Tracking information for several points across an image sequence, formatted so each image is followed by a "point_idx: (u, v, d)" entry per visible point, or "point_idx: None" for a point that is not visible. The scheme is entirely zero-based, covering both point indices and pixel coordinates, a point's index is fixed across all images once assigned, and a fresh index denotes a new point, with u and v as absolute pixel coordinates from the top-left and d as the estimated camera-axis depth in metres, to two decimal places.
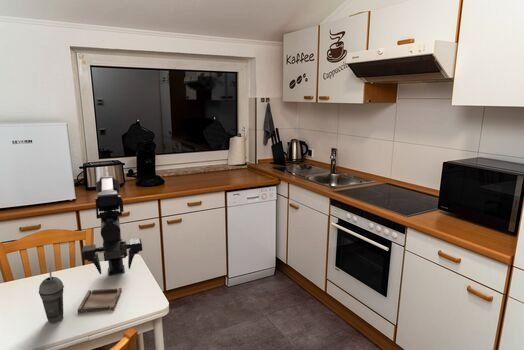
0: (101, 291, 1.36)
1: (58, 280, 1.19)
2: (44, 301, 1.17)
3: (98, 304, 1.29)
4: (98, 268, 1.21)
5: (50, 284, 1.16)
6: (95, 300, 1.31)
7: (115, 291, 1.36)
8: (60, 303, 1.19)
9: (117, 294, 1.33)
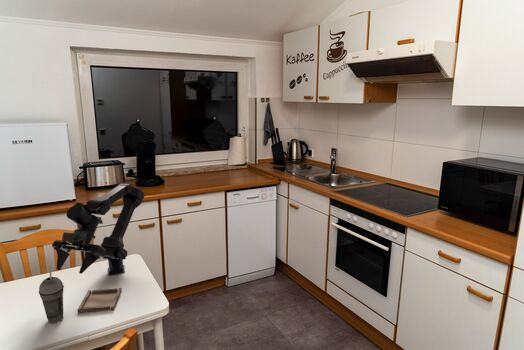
0: (101, 291, 1.36)
1: (58, 280, 1.19)
2: (44, 301, 1.17)
3: (98, 304, 1.29)
4: (58, 262, 1.27)
5: (50, 284, 1.16)
6: (95, 300, 1.31)
7: (115, 291, 1.36)
8: (60, 303, 1.19)
9: (117, 294, 1.33)
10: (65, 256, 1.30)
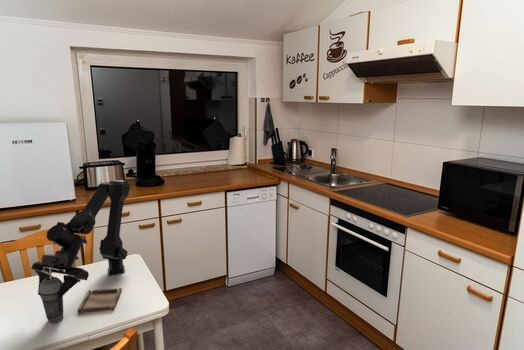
0: (101, 291, 1.36)
1: (58, 280, 1.19)
2: (44, 301, 1.17)
3: (98, 304, 1.29)
4: None
5: (50, 284, 1.16)
6: (95, 300, 1.31)
7: (115, 291, 1.36)
8: (60, 303, 1.19)
9: (117, 294, 1.33)
10: None
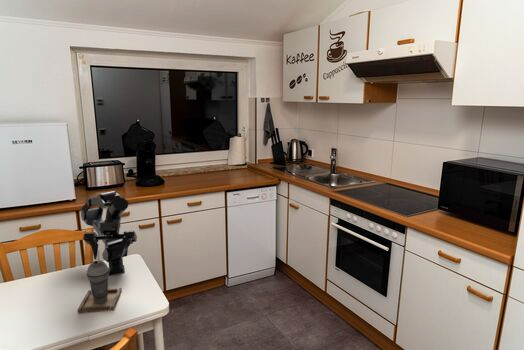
0: None
1: (104, 262, 1.29)
2: (95, 283, 1.26)
3: (98, 304, 1.29)
4: (94, 251, 1.35)
5: (100, 266, 1.26)
6: None
7: (115, 291, 1.36)
8: (107, 283, 1.30)
9: (117, 294, 1.33)
10: (97, 246, 1.38)
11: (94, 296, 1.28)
